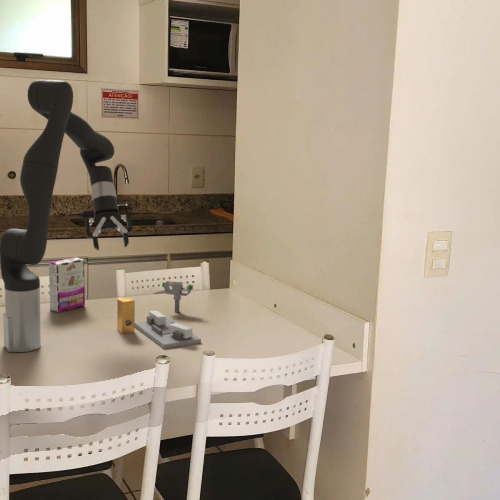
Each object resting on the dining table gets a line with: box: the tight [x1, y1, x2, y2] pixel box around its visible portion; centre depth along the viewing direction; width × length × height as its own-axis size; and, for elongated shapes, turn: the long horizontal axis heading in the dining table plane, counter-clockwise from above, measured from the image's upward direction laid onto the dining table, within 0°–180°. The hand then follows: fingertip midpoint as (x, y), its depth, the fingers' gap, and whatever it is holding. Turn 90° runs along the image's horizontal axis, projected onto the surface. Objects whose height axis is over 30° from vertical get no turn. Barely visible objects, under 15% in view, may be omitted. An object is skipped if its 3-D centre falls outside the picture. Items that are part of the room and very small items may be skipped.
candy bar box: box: [48, 256, 86, 313], centre depth 225 cm, size 11×5×16 cm, turn 143°
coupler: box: [116, 296, 136, 335], centre depth 206 cm, size 4×5×10 cm
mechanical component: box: [161, 280, 194, 313], centre depth 227 cm, size 3×10×10 cm, turn 78°
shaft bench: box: [134, 310, 202, 349], centre depth 205 cm, size 12×22×4 cm, turn 32°
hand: (112, 247), depth 207 cm, fingers open, 8 cm apart
